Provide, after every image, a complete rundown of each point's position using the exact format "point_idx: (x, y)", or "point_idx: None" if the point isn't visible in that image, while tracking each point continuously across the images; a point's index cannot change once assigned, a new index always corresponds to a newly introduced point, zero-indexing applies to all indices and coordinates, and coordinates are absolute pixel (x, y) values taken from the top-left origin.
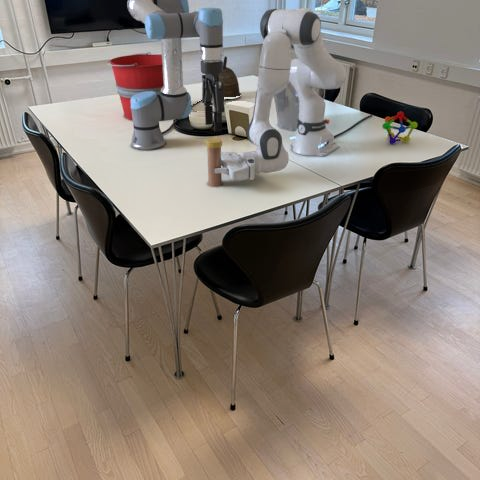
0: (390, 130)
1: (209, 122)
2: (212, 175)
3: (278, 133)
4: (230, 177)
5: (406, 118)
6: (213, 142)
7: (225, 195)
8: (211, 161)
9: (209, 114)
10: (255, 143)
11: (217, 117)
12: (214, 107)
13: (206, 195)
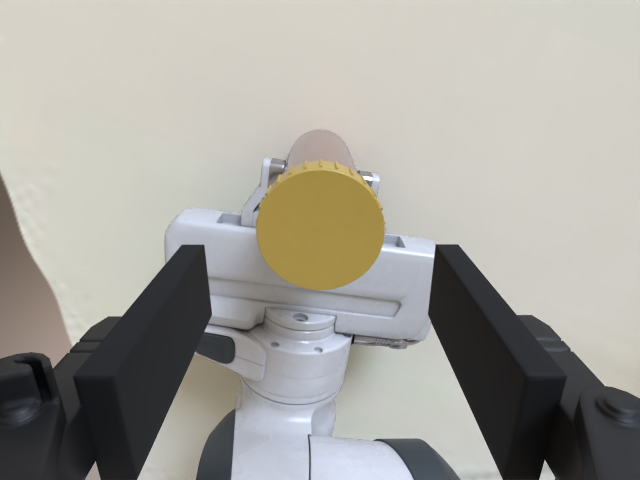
0: None
1: (438, 290)
2: (294, 148)
3: None
4: (195, 209)
5: None
6: (267, 209)
7: (189, 156)
8: (291, 160)
9: (465, 347)
10: (303, 445)
11: (66, 362)
12: (18, 473)
13: (216, 74)
